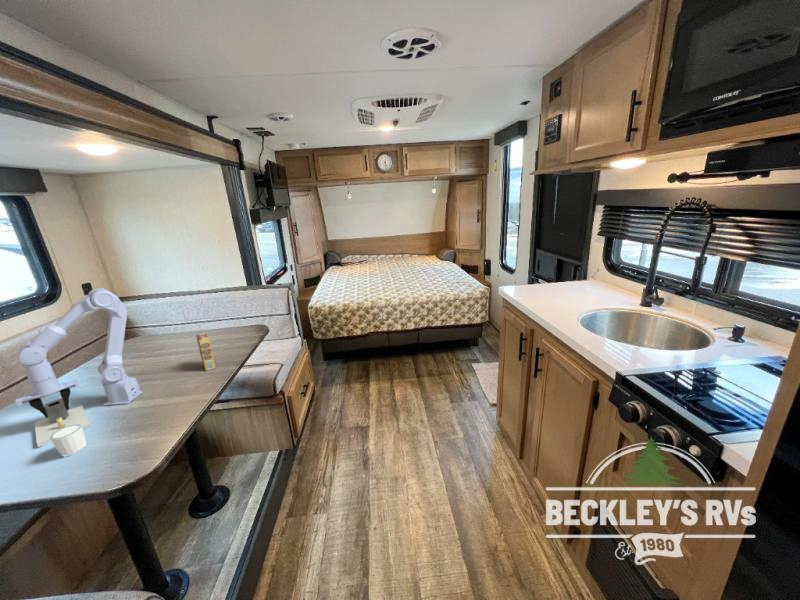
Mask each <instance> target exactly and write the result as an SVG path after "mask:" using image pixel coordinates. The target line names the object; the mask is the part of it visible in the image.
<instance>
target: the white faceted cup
mask: <svg viewBox="0 0 800 600" xmlns="http://www.w3.org/2000/svg"><path fill="white" fill-rule="evenodd" d="M85 436H86V435H85V433H84V430H83V428H82V425H81V424H75V425H71V426H67V427H65V428H62V429H60V430H58V431H57V432H55V433H53V434H52V435H51V436H50V440H51V441H52V444H53V445H54V447H55V448H56V450H57V452H58V453H59V454H61V455H69V454H73V453H75V452H77V451H78V450H80V449H82V448H83V447H84V446H86V443H87V440H86V437H85ZM86 447H87V446H86ZM61 455H60V456H61Z"/></svg>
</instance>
